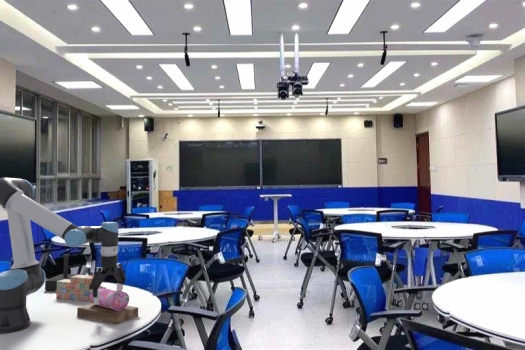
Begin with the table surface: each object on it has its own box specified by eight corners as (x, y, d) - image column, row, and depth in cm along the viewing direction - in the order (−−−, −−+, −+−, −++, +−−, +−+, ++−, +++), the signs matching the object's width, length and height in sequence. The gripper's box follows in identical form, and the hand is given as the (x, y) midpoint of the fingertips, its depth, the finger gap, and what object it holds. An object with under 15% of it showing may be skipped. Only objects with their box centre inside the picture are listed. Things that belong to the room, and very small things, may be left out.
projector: (72, 291, 229) (73, 257, 230) (44, 291, 229) (45, 257, 230) (86, 284, 248) (87, 252, 249) (60, 284, 248) (61, 252, 249)
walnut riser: (117, 324, 172) (117, 315, 172) (77, 316, 183) (77, 307, 183) (138, 316, 184) (138, 307, 184) (99, 309, 195) (99, 300, 195)
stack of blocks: (55, 298, 214) (56, 275, 215) (64, 295, 220) (65, 273, 221) (88, 301, 208) (89, 278, 209) (96, 298, 214) (97, 275, 215)
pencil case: (86, 305, 186) (87, 286, 187) (104, 301, 194) (105, 283, 194) (112, 314, 174) (112, 293, 174) (130, 309, 181) (130, 289, 181)
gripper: (93, 259, 172) (92, 308, 171) (134, 252, 195) (133, 295, 194) (81, 258, 175) (80, 306, 174) (123, 251, 198) (121, 293, 197)
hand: (108, 300), depth 184 cm, fingers open, 13 cm apart
